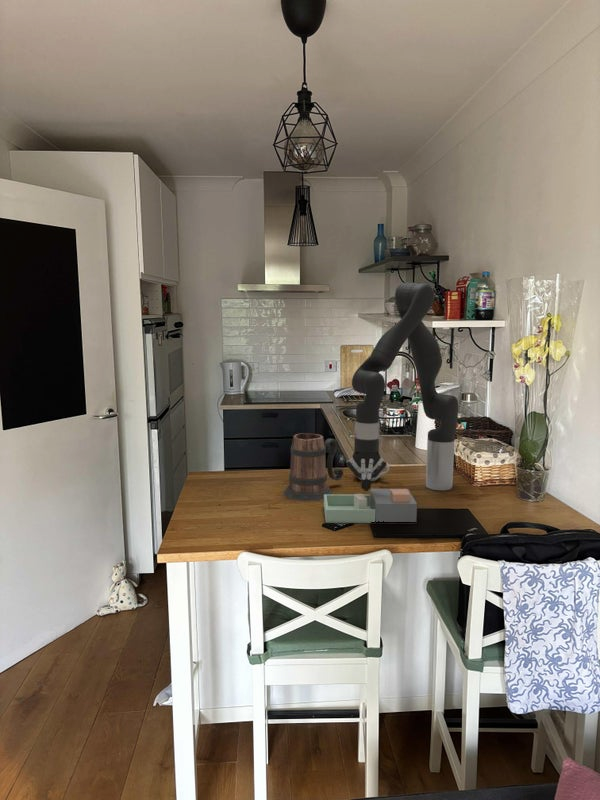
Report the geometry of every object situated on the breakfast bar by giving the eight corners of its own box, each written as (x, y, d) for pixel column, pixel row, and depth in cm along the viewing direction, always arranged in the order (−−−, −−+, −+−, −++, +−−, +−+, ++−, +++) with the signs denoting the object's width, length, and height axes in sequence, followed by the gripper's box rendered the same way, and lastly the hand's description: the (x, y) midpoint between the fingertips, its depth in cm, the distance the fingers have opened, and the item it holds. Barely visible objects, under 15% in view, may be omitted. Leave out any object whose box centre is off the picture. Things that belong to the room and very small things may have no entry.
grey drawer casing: (369, 506, 183) (370, 488, 182) (407, 506, 184) (408, 488, 183) (375, 523, 170) (376, 503, 169) (416, 523, 170) (417, 503, 169)
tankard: (302, 504, 185) (303, 444, 182) (273, 491, 199) (273, 434, 195) (357, 491, 199) (358, 434, 196) (326, 479, 212) (327, 426, 209)
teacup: (347, 478, 213) (347, 457, 212) (367, 473, 220) (367, 452, 219) (375, 487, 203) (376, 465, 202) (395, 481, 210) (396, 460, 209)
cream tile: (361, 493, 179) (354, 494, 178) (366, 498, 174) (359, 499, 173) (361, 508, 180) (353, 509, 179) (366, 514, 175) (358, 515, 174)
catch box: (323, 506, 183) (323, 494, 183) (369, 506, 183) (369, 494, 183) (325, 522, 170) (325, 509, 169) (375, 523, 170) (375, 510, 169)
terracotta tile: (390, 496, 175) (390, 489, 174) (406, 497, 175) (406, 489, 174) (392, 502, 170) (392, 494, 169) (409, 502, 170) (409, 494, 169)
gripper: (386, 433, 179) (385, 486, 182) (344, 433, 179) (343, 486, 182) (390, 438, 172) (388, 494, 175) (346, 438, 172) (345, 494, 175)
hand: (365, 490), depth 178 cm, fingers closed
